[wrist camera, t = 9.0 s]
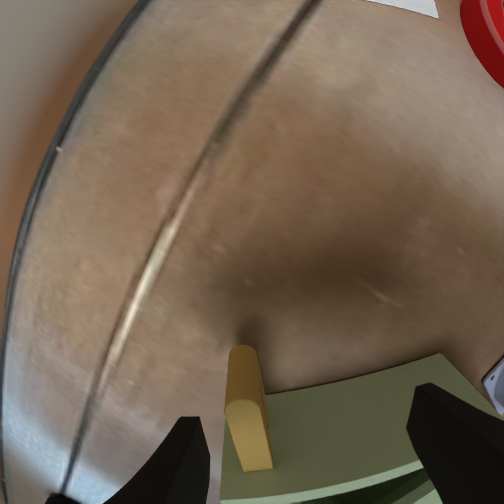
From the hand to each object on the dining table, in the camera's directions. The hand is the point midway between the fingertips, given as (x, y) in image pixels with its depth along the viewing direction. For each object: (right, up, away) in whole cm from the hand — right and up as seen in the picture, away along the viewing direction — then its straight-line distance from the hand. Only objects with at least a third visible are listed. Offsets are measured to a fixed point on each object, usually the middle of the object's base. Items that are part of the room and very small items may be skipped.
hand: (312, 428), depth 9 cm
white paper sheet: (+5, +28, +5) cm, 29 cm away
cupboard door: (+4, -1, +11) cm, 11 cm away
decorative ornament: (+18, +23, +6) cm, 30 cm away
